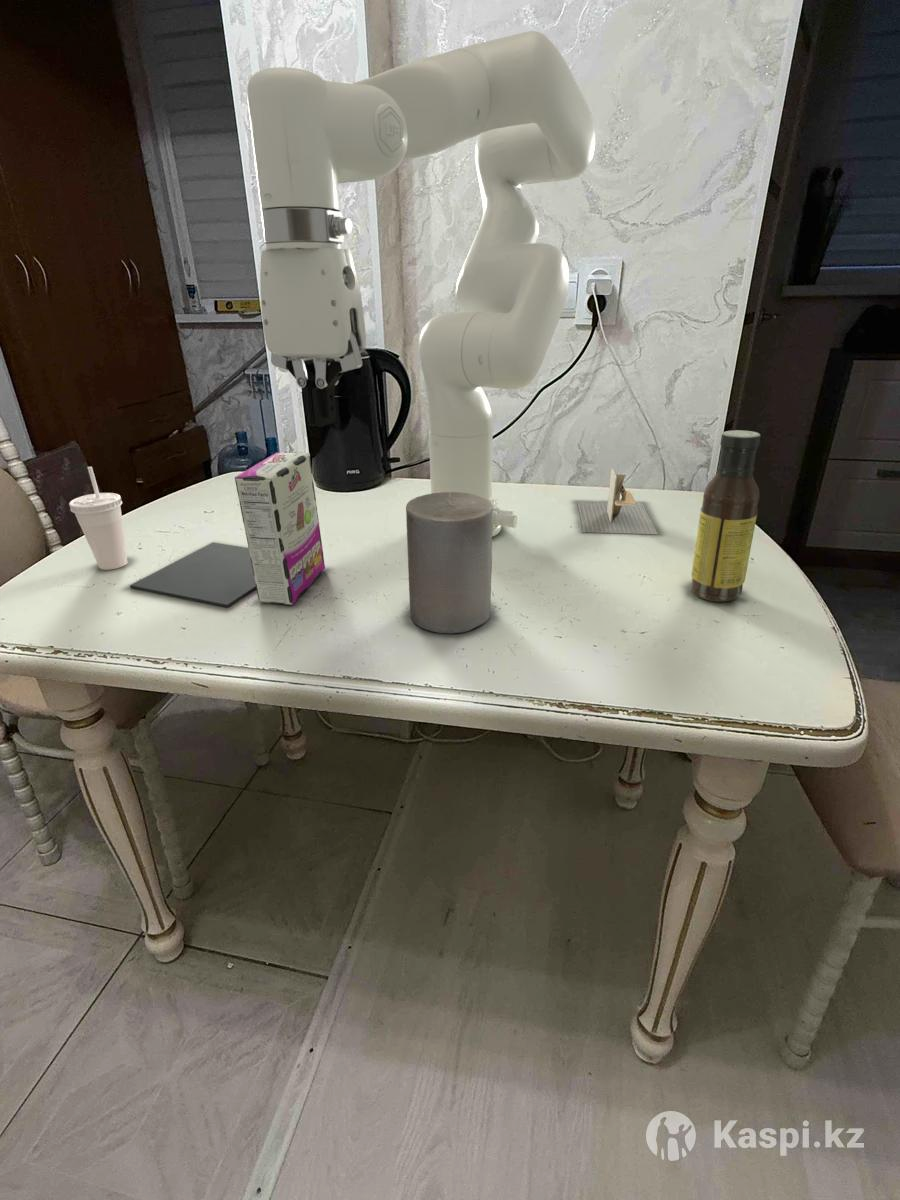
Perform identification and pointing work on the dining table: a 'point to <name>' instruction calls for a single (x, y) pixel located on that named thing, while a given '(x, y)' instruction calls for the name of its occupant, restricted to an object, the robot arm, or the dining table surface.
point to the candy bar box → (281, 526)
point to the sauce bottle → (727, 520)
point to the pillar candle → (449, 560)
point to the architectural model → (616, 512)
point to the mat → (205, 576)
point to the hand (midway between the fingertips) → (321, 423)
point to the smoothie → (102, 525)
